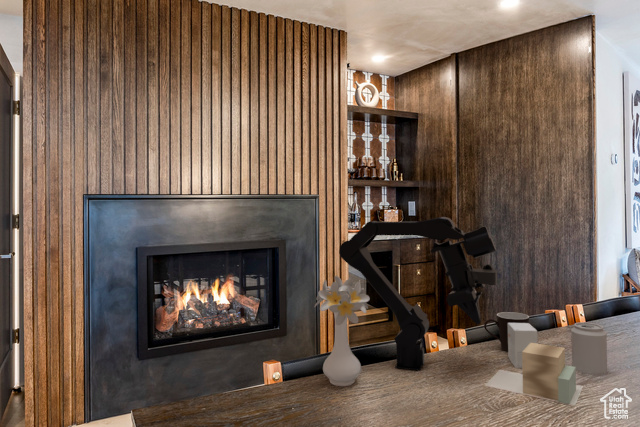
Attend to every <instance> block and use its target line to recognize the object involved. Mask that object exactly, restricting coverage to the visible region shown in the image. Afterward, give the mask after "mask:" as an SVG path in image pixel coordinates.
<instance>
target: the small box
mask: <svg viewBox="0 0 640 427" xmlns="http://www.w3.org/2000/svg"><path fill="white" fill-rule="evenodd" d="M538 338H539V337H538V330H537V329H536V328H535V327H534V326H532V325H531V324H530V323H508V352H507V353H508V356H507V357H508V359H509V361H510V362H511V364H512V365H513V366H514V368H516V369H522V351H523V350H524V349H525V348H526V347H527V346H528V345H529V344H530V343H537V344H539V342H538V340H539V339H538Z"/></svg>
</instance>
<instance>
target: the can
mask: <svg viewBox="0 0 640 427" xmlns="http://www.w3.org/2000/svg"><path fill="white" fill-rule="evenodd" d="M570 330H571V332H570V333H571V334H570V335H571V337H570V338H571V366H573V367H576V372H580V373H582V374H588V375H595V376H596V375H597V376H599V375H600V376H601V375H606V374H608V348H607V347H608V343H607V342H608V340H607V339H608V338H607V336H608V335H607V332H606V331H605V330H604V326H603V325H601V324H598V323H593V322H586V321H585V322H575V323H573V327H572V328H571V329H570Z"/></svg>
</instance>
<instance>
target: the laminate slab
mask: <svg viewBox="0 0 640 427" xmlns="http://www.w3.org/2000/svg"><path fill="white" fill-rule="evenodd" d="M484 387H488V388H489V387H490V388H493V389H498V390H502V391H507V392H512V393H515V394H519V395H525V396H530V397H534V398H539V399H543V400H548V401H553V402H556V403H560V404H562V403H561V402H558V401H557V400H552V399H548V398H543V397H539V396H534V395H530V394H525V393H523V373H519V372H515V371H509V370H503V369H499V370H498V371H497V372H496V373H494V375H493V376H492V377H491V378H490V379H489V380H488V381H487V383H485V384H484ZM583 387H584V386H583V385H579V384H576V391H575V393H574V395H573V398H572V400H571V402H570V404H568V405H570V406H573V407H574V406H576V405H577V402H578V399H579V397H580V394H581V392H582V391H583ZM564 404H565V405H567V404H566V403H564Z"/></svg>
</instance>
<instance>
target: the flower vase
mask: <svg viewBox="0 0 640 427" xmlns="http://www.w3.org/2000/svg"><path fill="white" fill-rule="evenodd" d="M327 284H328V282H327V280H326V279H324V280H323V283H322V289H320V290H319V291H318V292H317V293H318V294H317V296H316V298H315V299H316V301H317V302H316V303H315V304H314V307H313V308H315V307H317V306H318V305H320V303H322V302H323V303H322V304H321V305H320V307H319V310H320V311H321V312H324V311H327V310H329V312H332V313H333V314H334V315H333V316H334V344H333V348H332V350H331V352H330V354H329V355H328V357H327V358H325V360H324V362H323V365H322V371H323V374H324V375H325V377H327V378H328V379H329V382H330V384H331V385H333V386H335V387H336V386H337V387H349V386H352V385H353V384H354V383H355V381H356V379H357V378H358V376H359V375H360V374H361V372H362V364H361V362H360V360H359V359H358V357H357V356H355V354H354V353H353V352H352V349H351V347H350V344H349V336H348V335H349V334H348V333H349V332H348V320H349V322H351V324H352V323H353V324H359V317H358V315H357V314H356V312H355V311H359V310H360V311H361V312H363V314H366V313H367V309H369V307H368V302H369V301H370V299H371V298H370V296H369V295H368V294H366V291H365V288H364V287H361V286H362V285H361V279H359V280H358V281H357V282H356V283H355V285H354V280H353V278H347V279H345V281H344V282H343V280H342V279H341V278H340V276H338V275H334V281H333V282H332V283H331V285H329V286H328V285H327ZM352 286H354V287H352Z"/></svg>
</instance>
